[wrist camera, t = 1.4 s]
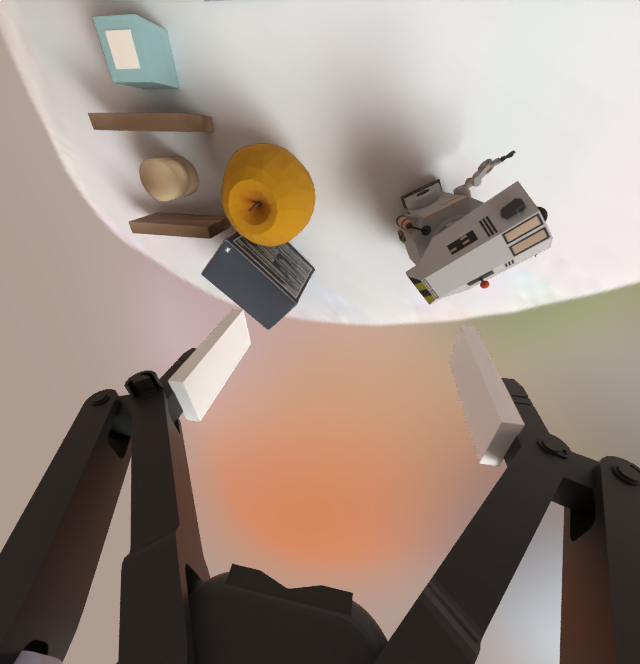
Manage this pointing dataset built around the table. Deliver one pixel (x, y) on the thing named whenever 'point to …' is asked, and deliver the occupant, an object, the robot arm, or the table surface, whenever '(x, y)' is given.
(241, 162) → the apple
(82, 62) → the table surface
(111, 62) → the letter cube
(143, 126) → the divider rack
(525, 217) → the figurine
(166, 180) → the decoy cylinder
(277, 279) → the small box
